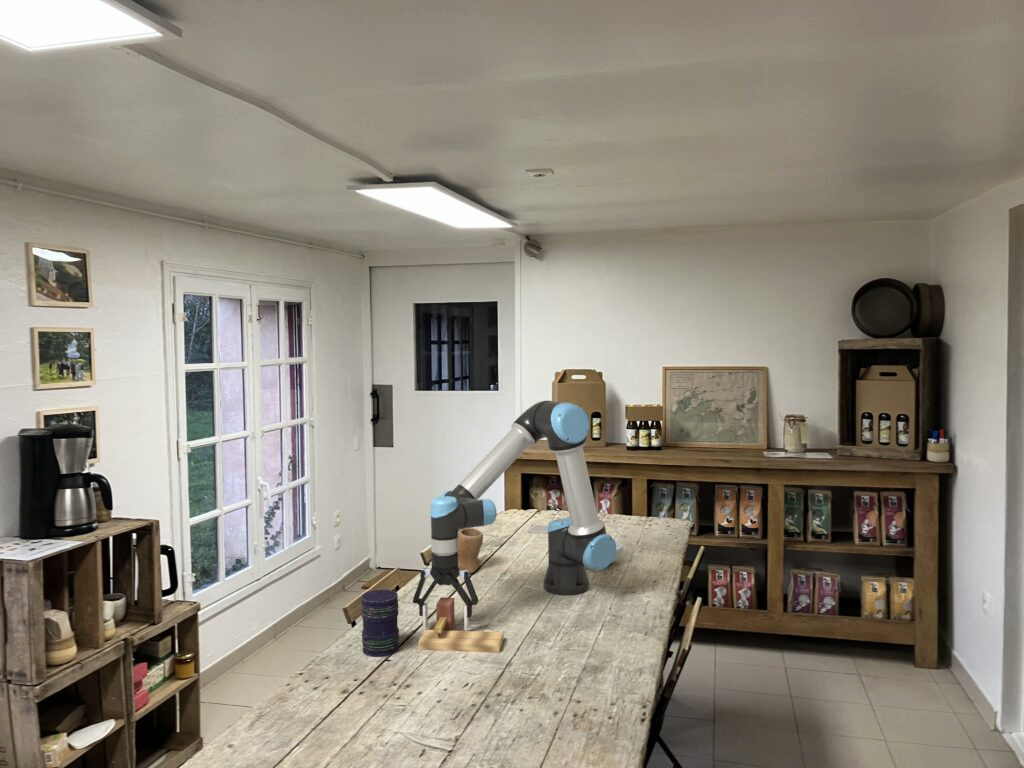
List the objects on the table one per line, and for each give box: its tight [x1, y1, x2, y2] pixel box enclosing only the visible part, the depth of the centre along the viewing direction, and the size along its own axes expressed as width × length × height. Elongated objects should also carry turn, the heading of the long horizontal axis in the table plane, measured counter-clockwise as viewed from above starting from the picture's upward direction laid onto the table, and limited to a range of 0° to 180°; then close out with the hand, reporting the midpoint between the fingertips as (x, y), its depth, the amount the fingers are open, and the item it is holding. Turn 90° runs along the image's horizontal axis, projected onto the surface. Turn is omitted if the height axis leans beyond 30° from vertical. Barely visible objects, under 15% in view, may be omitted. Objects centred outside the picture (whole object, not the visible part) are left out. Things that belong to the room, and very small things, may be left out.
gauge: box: [433, 597, 456, 636], centre depth 222 cm, size 4×14×9 cm, turn 173°
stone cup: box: [457, 527, 484, 574], centre depth 285 cm, size 15×12×15 cm
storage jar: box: [360, 589, 400, 658], centre depth 214 cm, size 10×10×15 cm
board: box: [417, 629, 504, 653], centre depth 218 cm, size 22×9×2 cm, turn 83°
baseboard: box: [527, 524, 549, 535], centre depth 336 cm, size 31×3×12 cm
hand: (445, 627), depth 226 cm, fingers open, 11 cm apart
